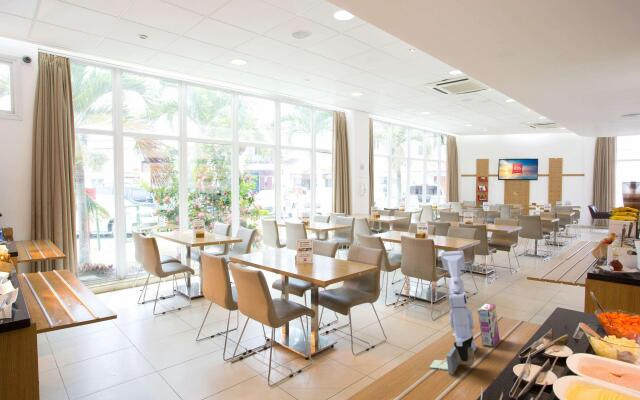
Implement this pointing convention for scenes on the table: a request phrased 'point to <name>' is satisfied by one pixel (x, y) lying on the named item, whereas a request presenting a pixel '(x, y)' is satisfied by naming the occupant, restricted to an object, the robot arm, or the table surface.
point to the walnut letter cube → (470, 357)
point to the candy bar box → (488, 324)
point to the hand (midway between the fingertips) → (466, 358)
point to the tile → (442, 366)
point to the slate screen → (452, 360)
